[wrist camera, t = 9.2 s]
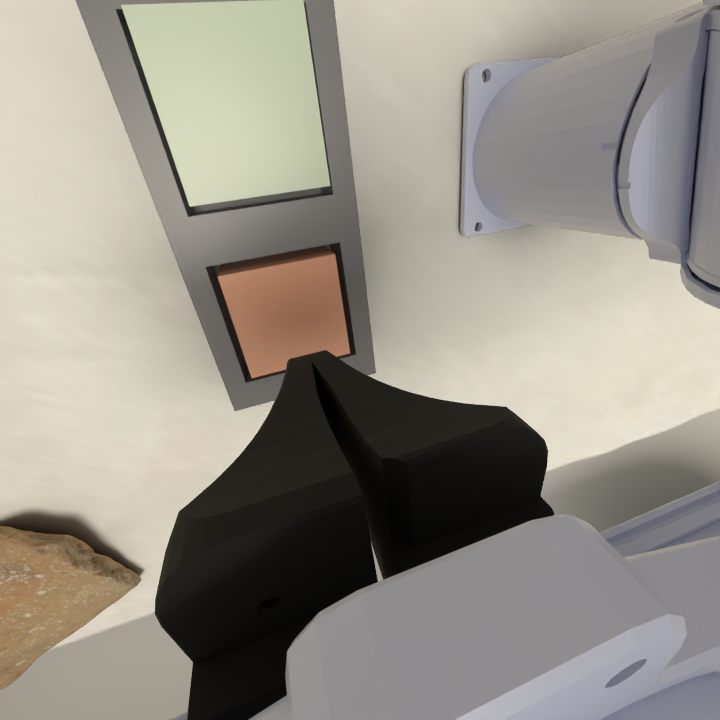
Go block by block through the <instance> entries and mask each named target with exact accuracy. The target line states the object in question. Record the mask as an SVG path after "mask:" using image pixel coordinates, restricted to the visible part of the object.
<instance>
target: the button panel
mask: <svg viewBox="0 0 720 720" xmlns="http://www.w3.org/2000/svg"><path fill="white" fill-rule="evenodd" d="M227 1H258V0H76V3H77V5H78V8H79V10H80V13H81V15H82V18H83V21H84V23H85V26H86V28H87V31H88V33H89V36H90V39H91V41H92V44H93V46H94V49H95V52H96V54H97V57H98V59H99V62H100V64H101V67H102V70H103V72H104V75H105V77H106V80H107V83H108V85H109V88H110V90H111V93H112V95H113V98H114V101H115V103H116V106H117V108H118V111H119V113H120V116H121V119H122V121H123V124H124V126H125V129H126V132H127V134H128V137H129V139H130V142H131V144H132V147H133V150H134V152H135V155H136V157H137V160H138V163H139V165H140V168H141V170H142V173H143V175H144V178H145V181H146V183H147V186H148V188H149V191H150V193H151V196H152V199H153V201H154V204H155V206H156V209H157V212H158V214H159V217H160V219H161V222H162V224H163V227H164V230H165V232H166V235H167V237H168V240H169V243H170V245H171V248H172V250H173V253H174V255H175V258H176V261H177V263H178V266H179V268H180V271H181V273H182V276H183V279H184V281H185V284H186V286H187V289H188V292H189V294H190V297H191V299H192V302H193V304H194V307H195V310H196V312H197V315H198V317H199V320H200V323H201V325H202V328H203V330H204V333H205V335H206V338H207V341H208V343H209V346H210V348H211V351H212V353H213V356H214V359H215V361H216V364H217V366H218V369H219V372H220V374H221V377H222V379H223V382H224V384H225V387H226V390H227V392H228V395H229V397H230V400H231V403H232V405H233V408H234V410H235V411H237V410H241V409H244V408H248V407H252V406H256V405H259V404H263V403H267V402H270V401H274V400H276V398H277V396H278V393H279V391H280V388H281V385H282V382H283V379H284V376H285V372H286V370H282V371H278V372H274V373H270V374H267V375H263V376H259V377H255V378H251V375H250V372H249V369H248V366H247V363H246V360H245V357H244V354H243V351H242V348H241V345H240V342H239V339H238V336H237V333H236V330H235V327H234V324H233V321H232V318H231V315H230V312H229V309H228V306H227V303H226V300H225V297H224V294H223V291H222V288H221V285H220V282H219V279H218V273H219V270H220V266H221V264H226V263H232V262H237V261H243V260H248V259H254V258H259V257H265V256H270V255H275V254H281V253H286V252H292V251H297V250H303V249H308V248H313V247H319V246H325V247H326V248H328V249H329V250H330V251H332V252H333V253H334V254H335V257H336V263H337V270H338V276H339V283H340V289H341V296H342V302H343V309H344V315H345V322H346V329H347V335H348V342H349V348H350V353H349V354H345V355H341V356H337V358H339V359H340V360H342V361H343V362H345V363H346V364H348V365H350V366H351V367H353V368H354V369H356V370H358V371H360V372H361V373H363V374H365V375H370V374H374V373H376V370H375V361H374V353H373V344H372V335H371V326H370V317H369V309H368V300H367V291H366V282H365V273H364V265H363V256H362V247H361V238H360V229H359V221H358V212H357V203H356V194H355V186H354V177H353V168H352V159H351V150H350V142H349V133H348V124H347V115H346V106H345V98H344V89H343V80H342V71H341V62H340V54H339V45H338V36H337V27H336V18H335V10H334V1H333V0H303V1H304V8H305V14H306V21H307V28H308V35H309V42H310V49H311V56H312V63H313V69H314V76H315V83H316V90H317V97H318V104H319V111H320V118H321V124H322V131H323V138H324V145H325V152H326V159H327V166H328V172H329V179H330V186H327V187H320V188H313V189H306V190H299V191H293V192H286V193H279V194H272V195H266V196H259V197H252V198H245V199H238V200H232V201H225V202H218V203H211V204H205V205H198V206H191V207H190V206H189V203H188V200H187V197H186V194H185V191H184V188H183V186H182V183H181V180H180V177H179V174H178V171H177V168H176V165H175V162H174V159H173V156H172V153H171V150H170V147H169V144H168V142H167V139H166V136H165V133H164V130H163V127H162V124H161V121H160V118H159V115H158V112H157V109H156V106H155V103H154V101H153V98H152V95H151V92H150V89H149V86H148V83H147V80H146V77H145V74H144V71H143V68H142V65H141V62H140V59H139V57H138V54H137V51H136V48H135V45H134V42H133V39H132V36H131V33H130V30H129V27H128V24H127V21H126V18H125V15H124V13H123V10H122V7H121V5H131V4H163V3H195V2H227Z"/></svg>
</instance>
